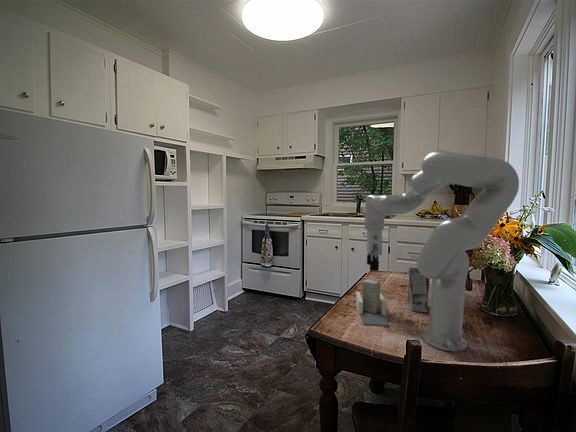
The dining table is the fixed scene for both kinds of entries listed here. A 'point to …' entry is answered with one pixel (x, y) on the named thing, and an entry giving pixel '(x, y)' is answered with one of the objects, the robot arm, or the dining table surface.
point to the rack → (360, 304)
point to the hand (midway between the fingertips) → (372, 267)
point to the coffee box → (417, 291)
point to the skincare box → (371, 295)
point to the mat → (374, 320)
